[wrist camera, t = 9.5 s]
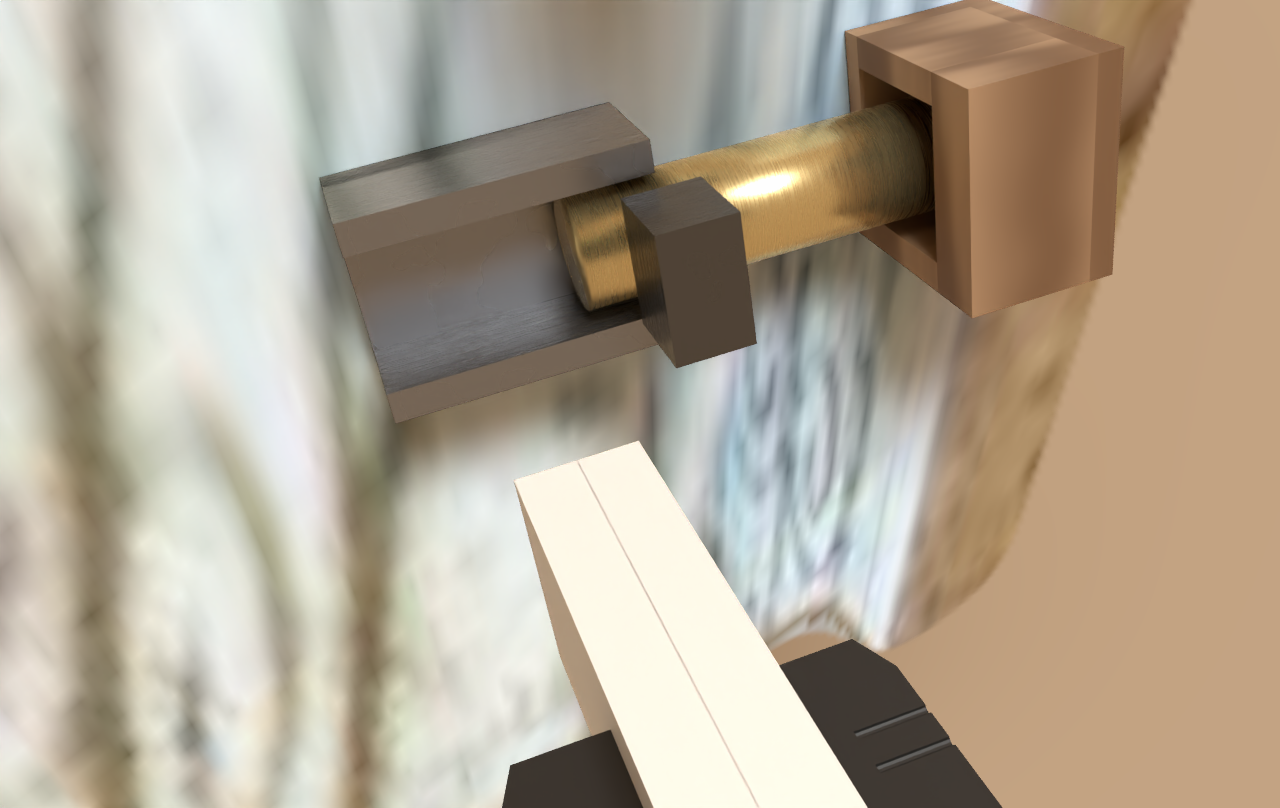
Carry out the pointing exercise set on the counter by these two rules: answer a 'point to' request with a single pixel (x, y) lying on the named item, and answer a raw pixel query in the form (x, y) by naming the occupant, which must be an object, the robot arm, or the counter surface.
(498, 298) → the open channel
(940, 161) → the socket
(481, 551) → the counter surface
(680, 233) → the brass bolt
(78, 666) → the counter surface
